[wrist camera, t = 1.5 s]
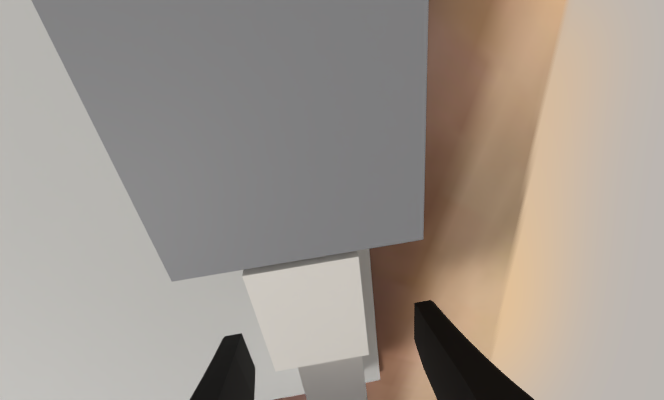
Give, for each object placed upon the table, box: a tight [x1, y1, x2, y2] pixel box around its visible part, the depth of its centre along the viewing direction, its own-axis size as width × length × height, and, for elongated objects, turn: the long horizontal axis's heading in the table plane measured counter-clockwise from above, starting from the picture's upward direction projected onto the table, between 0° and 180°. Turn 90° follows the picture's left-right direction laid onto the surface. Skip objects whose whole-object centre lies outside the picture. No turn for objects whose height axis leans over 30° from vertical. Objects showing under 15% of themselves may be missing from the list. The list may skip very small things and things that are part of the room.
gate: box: [31, 0, 429, 400], centre depth 9 cm, size 17×3×6 cm, turn 7°
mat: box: [0, 0, 380, 400], centre depth 12 cm, size 20×18×1 cm
